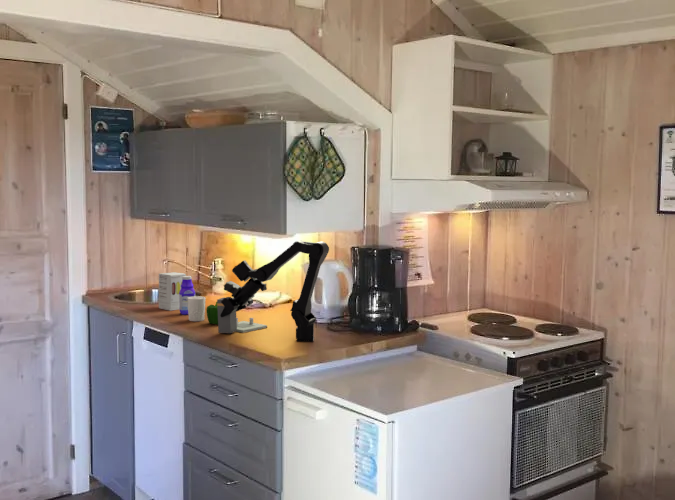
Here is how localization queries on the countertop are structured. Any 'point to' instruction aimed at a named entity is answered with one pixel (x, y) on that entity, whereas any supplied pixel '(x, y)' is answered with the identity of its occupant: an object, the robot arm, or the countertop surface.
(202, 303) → the white cup
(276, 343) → the countertop surface
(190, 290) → the bottle
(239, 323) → the board
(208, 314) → the bell pepper
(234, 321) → the plug block
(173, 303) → the supplement box
